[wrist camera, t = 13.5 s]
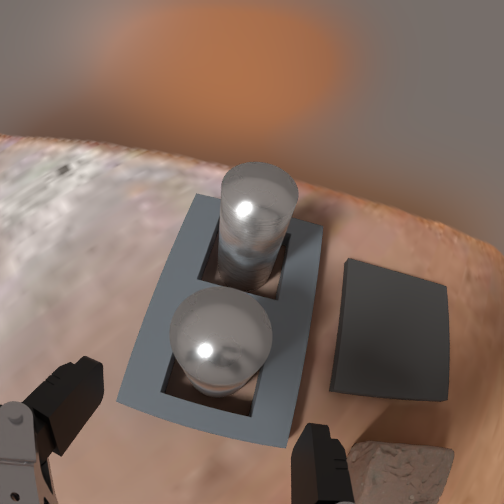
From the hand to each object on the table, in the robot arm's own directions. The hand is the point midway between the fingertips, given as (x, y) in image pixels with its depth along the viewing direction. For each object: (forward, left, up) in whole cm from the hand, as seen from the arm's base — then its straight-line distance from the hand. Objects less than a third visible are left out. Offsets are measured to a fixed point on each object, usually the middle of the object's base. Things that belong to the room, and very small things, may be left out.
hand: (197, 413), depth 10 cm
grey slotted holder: (0, -8, -11) cm, 14 cm away
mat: (-15, -10, -11) cm, 21 cm away
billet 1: (0, -13, -11) cm, 17 cm away
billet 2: (0, -4, -11) cm, 12 cm away
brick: (-15, +9, -12) cm, 21 cm away
